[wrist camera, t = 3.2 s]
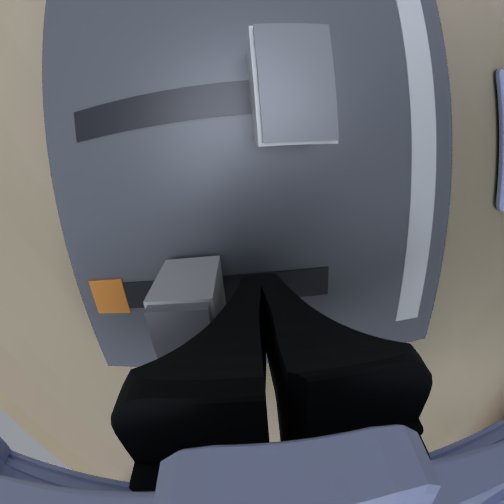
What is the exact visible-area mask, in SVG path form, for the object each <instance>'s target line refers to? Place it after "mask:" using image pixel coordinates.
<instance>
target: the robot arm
mask: <svg viewBox="0 0 504 504" xmlns="http://www.w3.org/2000/svg"><path fill="white" fill-rule="evenodd" d="M496 83H497V94H498V109H499V170H498V185H497V196H496V207H497V209H498V210H499V211H501V212H504V69H498V70H497V71H496ZM266 354H267V359H268V363H269V368H270V372H271V377H272V381H273V386H274V390H275V396H276V401H277V411H278V420H279V430H280V440H281V442H270V443H269V432H268V420H267V407H266V395H265V389H266ZM431 387H432V374H431V373H430V371H429V370H428V368H427V367H426V365H425V363H424V362H423V360H422V358H421V357H420V355H419V354H418V353H417V351H416V350H415V349H414V348H413V346H412V345H411V344H409V343H403V342H398V341H393V340H388V339H383V338H379V337H376V336H372V335H369V334H366V333H363V332H360V331H357V330H354V329H352V328H349V327H347V326H345V325H343V324H340V323H338V322H336V321H334V320H332V319H330V318H329V317H327V316H325V315H323V314H322V313H320V312H318V311H317V310H315V309H314V308H312V307H311V306H310V305H308V304H307V303H306V302H305V301H303V300H302V299H301V298H300V297H299V296H298V295H297V294H295V293H294V292H293V291H292V290H291V289H290V288H289V287H288V286H287V285H286V284H285V283H284V282H283V280H282V279H281V278H280V277H279V276H278V275H277V274H266V275H255V276H244V277H243V278H242V279H241V281H240V283H239V285H238V287H237V288H236V290H235V292H234V293H233V295H232V296H231V298H230V299H229V301H228V302H227V304H226V305H225V306H224V308H223V309H222V310H221V311H220V312H219V314H218V315H217V316H216V317H215V318H214V319H213V320H212V322H211V323H210V324H209V325H208V326H206V327H205V328H204V329H203V330H202V331H201V332H199V333H198V334H197V335H195V336H194V337H193V338H191V339H190V340H189V341H187V342H186V343H185V344H183V345H181V346H180V347H178V348H177V349H175V350H173V351H171V352H170V353H168V354H166V355H164V356H162V357H160V358H158V359H156V360H154V361H151V362H149V363H146V364H144V365H142V366H139V367H137V368H134V369H131V370H130V372H129V374H128V376H127V378H126V380H125V382H124V384H123V386H122V388H121V391H120V393H119V396H118V398H117V401H116V404H115V407H114V409H113V412H112V415H111V425H112V428H113V430H114V432H115V434H116V436H117V437H118V439H119V440H120V442H121V443H122V444H123V446H124V447H125V449H126V450H127V452H128V453H129V454H130V456H131V457H132V459H133V460H134V461H135V463H134V467H133V471H132V476H131V480H130V482H125V481H119V480H113V479H108V478H103V477H98V476H94V475H89V474H85V473H81V472H77V471H73V470H69V469H65V468H62V467H58V466H55V465H52V464H48V463H45V462H42V461H39V460H36V459H33V458H30V457H28V456H25V455H22V454H19V453H17V452H14V451H12V450H11V449H10V448H9V446H8V445H7V444H6V443H5V441H4V440H3V439H1V438H0V504H504V419H503V420H501V421H499V422H497V423H495V424H493V425H491V426H490V427H488V428H486V429H484V430H482V431H479V432H477V433H475V434H473V435H471V436H469V437H467V438H464V439H462V440H460V441H458V442H455V443H453V444H450V445H448V446H446V447H443V448H441V449H438V450H435V451H433V452H430V453H428V451H427V449H426V446H425V444H424V442H423V440H422V438H421V436H420V435H421V434H422V433H423V426H422V424H421V422H420V420H419V416H420V414H421V412H422V410H423V408H424V405H425V403H426V401H427V399H428V396H429V394H430V391H431Z"/></svg>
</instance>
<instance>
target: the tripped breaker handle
mask: <svg viewBox="0 0 504 504" xmlns="http://www.w3.org/2000/svg"><path fill="white" fill-rule="evenodd" d="M143 304H144V307H145V311H144V316H145V320H146V323H147V327H148V330H149V333H150V336H151V340H152V343H153V346H154V349H155V352H156V355H157V358H160V357H162V356H164V355H166V354H168V353H170V352H171V351H173V350H175V349H177V348H178V347H180V346H181V345H183V344H185V343H186V342H187V341H189V340H190V339H191V338H193V337H194V336H195V335H197V334H198V333H199V332H201V331H202V330H203V329H204V328H205V327H206V326H208V325H209V324H210V323H211V322H212V320H213V319H214V318H215V317H216V316H217V315H218V314H219V312H220V311H221V310H222V309H223V308H224V306H225V305H226V299H225V292H224V285H223V277H222V269H221V262H220V255H218V256H206V257H194V258H182V259H169V260H165V262H164V264H163V266H162V268H161V269H160V271H159V273H158V275H157V277H156V279H155V281H154V282H153V284H152V286H151V288H150V290H149V292H148V294H147V296H146V298H145V300H144V301H143Z"/></svg>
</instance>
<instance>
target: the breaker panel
mask: <svg viewBox="0 0 504 504" xmlns="http://www.w3.org/2000/svg"><path fill="white" fill-rule="evenodd" d="M42 84H43V107H44V121H45V132H46V141H47V149H48V157H49V164H50V171H51V177H52V183H53V189H54V194H55V199H56V204H57V209H58V214H59V218H60V223H61V227H62V231H63V235H64V239H65V243H66V247H67V251H68V254H69V258H70V261H71V265H72V268H73V272H74V275H75V278H76V281H77V285H78V288H79V291H80V294H81V297H82V300H83V303H84V305H85V308H86V311H87V314H88V317H89V319H90V322H91V325H92V327H93V330H94V332H95V335H96V337H97V340H98V342H99V345H100V347H101V350H102V352H103V354H104V357H105V359H106V361H107V364H108V366H131V367H139V366H142V365H144V364H146V363H149V362H151V361H154V360H156V359H158V358H157V355H156V352H155V349H154V346H153V343H152V340H151V336H150V333H149V330H148V327H147V323H146V320H145V316H144V311H145V307H144V304H143V301H144V300H145V298H146V296H147V294H148V292H149V290H150V288H151V286H152V284H153V282H154V281H155V279H156V277H157V275H158V273H159V271H160V269H161V268H162V266H163V264H164V262H165V260H169V259H182V258H194V257H206V256H218V255H220V262H221V269H222V277H223V285H224V292H225V299H226V304H227V302H228V301H229V299H230V298H231V296H232V295H233V293H234V292H235V290H236V288H237V287H238V285H239V283H240V281H241V279H242V278H243V277H244V276H255V275H266V274H277V275H278V276H279V277H280V278H281V279H282V280H283V282H284V283H285V284H286V285H287V286H288V287H289V288H290V289H291V290H292V291H293V292H294V293H295V294H297V295H298V296H299V297H300V298H301V299H302V300H303V301H305V302H306V303H307V304H308V305H310V306H311V307H312V308H314V309H315V310H317V311H318V312H320V313H322V314H323V315H325V316H327V317H329V318H330V319H332V320H334V321H336V322H338V323H340V324H343V325H345V326H347V327H349V328H352V329H354V330H357V331H360V332H363V333H366V334H369V335H372V336H376V337H379V338H383V339H388V340H393V341H398V342H403V343H405V342H410V341H415V340H419V339H424V338H425V337H426V334H427V330H428V326H429V322H430V318H431V314H432V310H433V306H434V301H435V297H436V292H437V287H438V282H439V277H440V272H441V266H442V260H443V254H444V247H445V240H446V233H447V224H448V215H449V205H450V192H451V174H452V114H451V97H450V85H449V75H448V66H447V58H446V51H445V45H444V39H443V33H442V27H441V22H440V17H439V13H438V8H437V4H436V0H46V7H45V17H44V30H43V52H42ZM266 363H268V359H267V354H266Z"/></svg>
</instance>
